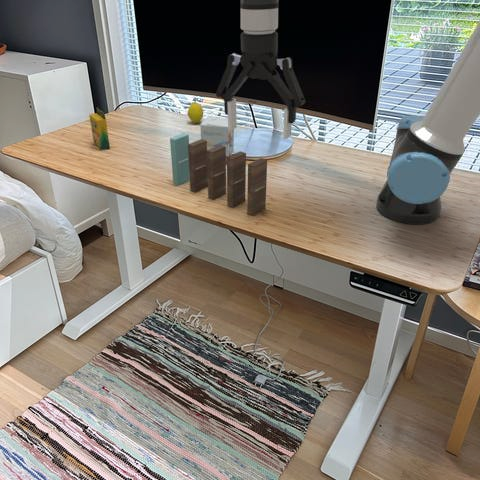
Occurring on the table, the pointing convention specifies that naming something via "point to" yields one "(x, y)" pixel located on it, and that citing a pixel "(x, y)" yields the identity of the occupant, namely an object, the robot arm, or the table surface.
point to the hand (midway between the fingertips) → (259, 132)
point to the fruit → (195, 112)
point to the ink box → (217, 134)
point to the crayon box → (99, 130)
